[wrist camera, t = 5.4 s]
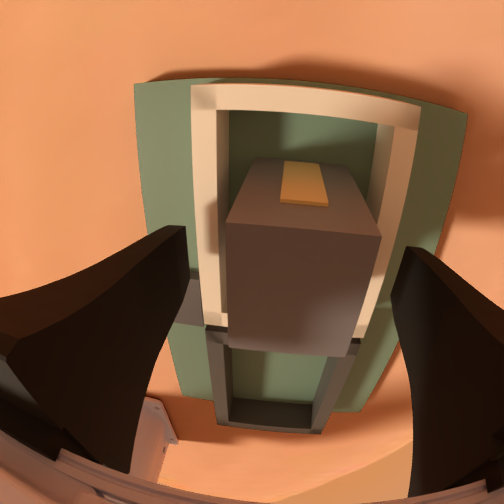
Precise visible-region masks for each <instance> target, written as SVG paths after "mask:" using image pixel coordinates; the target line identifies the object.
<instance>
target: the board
mask: <svg viewBox="0 0 504 504" xmlns="http://www.w3.org/2000/svg"><path fill="white" fill-rule="evenodd" d="M134 101H135V120H136V135H137V148H138V159H139V169H140V179H141V188H142V196H143V204H144V212H145V219H146V226H147V233H148V235H149V234H151V233H152V232H154V231H156V230H158V229H160V228H162V227H164V226H167V225H179V226H186V235H187V246H188V257H189V267H190V276H191V278H190V281H189V284H188V288H187V291H186V294H185V297H184V300H183V303H182V305H181V307H180V309H179V312H178V314H177V316H176V318H175V320H174V322H173V324H172V327H171V329H170V331H169V333H168V335H167V337H168V342H169V346H170V350H171V354H172V358H173V362H174V366H175V370H176V374H177V378H178V381H179V385H180V389H181V392H182V395H183V396H188V397H193V398H199V399H204V400H210V401H214V407H215V413H216V420H217V425H224V426H230V427H238V428H245V429H254V430H263V431H274V432H286V433H302V434H321V432H322V430H323V428H324V426H325V424H326V422H327V420H328V418H329V416H330V414H331V412H360V411H361V409H362V408H363V406H364V404H365V403H366V401H367V399H368V398H369V396H370V394H371V392H372V391H373V389H374V387H375V385H376V384H377V382H378V380H379V378H380V376H381V374H382V373H383V371H384V369H385V367H386V365H387V363H388V361H389V359H390V357H391V355H392V353H393V351H394V349H395V347H396V345H397V343H398V341H399V338H398V334H397V330H396V327H395V323H394V318H393V312H392V305H391V298H390V294H391V291H392V288H393V285H394V282H395V279H396V276H397V273H398V270H399V267H400V264H401V261H402V257H403V254H404V251H405V248H406V246H412V247H421V248H424V249H425V250H427V251H428V252H430V253H431V254H433V255H434V253H435V250H436V247H437V244H438V241H439V238H440V235H441V232H442V228H443V225H444V222H445V218H446V215H447V211H448V208H449V204H450V200H451V197H452V193H453V189H454V185H455V181H456V176H457V172H458V167H459V163H460V158H461V153H462V148H463V142H464V137H465V131H466V125H467V118H468V114H467V113H464V112H460V111H457V110H454V109H451V108H447V107H444V106H440V105H437V104H433V103H429V102H425V101H421V100H417V99H413V98H409V97H405V96H400V95H395V94H391V93H386V92H380V91H375V90H369V89H364V88H357V87H351V86H344V85H337V84H329V83H320V82H311V81H299V80H286V79H268V78H197V79H179V80H166V81H155V82H146V83H137V84H134ZM255 157H262V158H276V159H289V160H301V161H311V162H321V163H331V164H339V165H346V166H347V168H348V170H349V171H350V173H351V175H352V177H353V179H354V181H355V183H356V184H357V186H358V188H359V190H360V192H361V194H362V196H363V198H364V200H365V202H366V204H367V206H368V208H369V210H370V212H371V214H372V216H373V218H374V220H375V222H376V224H377V227H378V229H379V231H380V233H381V235H382V239H381V243H380V247H379V251H378V255H377V258H376V262H375V266H374V269H373V273H372V276H371V280H370V283H369V287H368V290H367V293H366V297H365V300H364V303H363V306H362V309H361V313H360V316H359V319H358V322H357V325H356V328H355V331H354V334H353V336H352V339H351V342H350V345H349V348H348V350H347V353H346V356H345V357H328V356H312V355H298V354H286V353H275V352H264V351H255V350H246V349H238V348H230V347H229V343H228V316H227V285H226V244H225V221H226V219H227V217H228V215H229V212H230V210H231V208H232V206H233V204H234V202H235V199H236V197H237V195H238V193H239V191H240V189H241V186H242V184H243V182H244V180H245V178H246V176H247V174H248V171H249V169H250V167H251V165H252V163H253V161H254V159H255Z"/></svg>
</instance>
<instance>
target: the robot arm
mask: <svg viewBox="0 0 504 504" xmlns="http://www.w3.org/2000/svg"><path fill="white" fill-rule="evenodd" d="M190 278H191V276H190V267H189V257H188V246H187V235H186V226H179V225H167V226H164V227H162V228H160V229H158V230H156V231H154V232H152V233H151V234H149V235H147V236H145V237H144V238H142V239H140V240H138V241H137V242H135V243H133V244H131V245H130V246H128V247H126V248H124V249H123V250H121V251H119V252H117V253H115V254H113V255H111V256H110V257H108V258H106V259H104V260H102V261H100V262H99V263H97V264H95V265H93V266H90V267H88V268H86V269H84V270H82V271H80V272H77V273H75V274H73V275H71V276H68V277H66V278H63V279H60V280H58V281H55V282H52V283H49V284H47V285H44V286H41V287H38V288H35V289H32V290H29V291H25V292H22V293H18V294H14V295H10V296H6V297H2V298H0V504H269V503H258V502H249V501H241V500H233V499H226V498H220V497H214V496H209V495H203V494H198V493H194V492H189V491H184V490H180V489H176V488H172V487H168V486H164V485H160V484H157V481H158V478H159V474H160V471H161V468H162V464H163V461H164V458H165V454H166V451H167V448H168V445H169V443H170V444H175V445H177V444H178V442H179V441H178V439H177V437H176V434H175V432H174V430H173V427H172V425H171V423H170V420H169V418H168V415H167V413H166V411H165V408H164V406H163V403H162V402H161V401H160V400H157V399H153V398H149V397H145V395H146V391H147V388H148V384H149V381H150V378H151V374H152V371H153V368H154V365H155V362H156V360H157V357H158V355H159V352H160V350H161V348H162V346H163V344H164V341H165V339H166V337H167V335H168V333H169V331H170V329H171V327H172V324H173V322H174V320H175V318H176V316H177V314H178V312H179V309H180V307H181V305H182V303H183V300H184V297H185V294H186V291H187V288H188V284H189V281H190ZM390 298H391V305H392V312H393V318H394V323H395V327H396V330H397V334H398V338H399V341H400V345H401V349H402V352H403V356H404V360H405V364H406V368H407V372H408V377H409V382H410V388H411V398H412V410H413V459H412V470H411V478H410V487H409V492H408V498H404V499H398V500H391V501H383V502H374V503H363V504H504V310H503V309H501V308H500V307H499V306H497V305H496V304H494V303H493V302H492V301H490V300H489V299H488V298H486V297H485V296H484V295H483V294H481V293H480V292H479V291H478V290H476V289H475V288H474V287H473V286H471V285H470V284H469V283H468V282H466V281H465V280H464V279H463V278H462V277H460V276H459V275H458V274H457V273H455V272H454V271H453V270H452V269H451V268H449V267H448V266H447V265H446V264H444V263H443V262H442V261H441V260H439V259H438V258H437V257H435V256H434V255H433V254H431V253H430V252H428V251H427V250H425V249H424V248H421V247H412V246H406V248H405V251H404V254H403V257H402V261H401V264H400V267H399V270H398V273H397V276H396V279H395V282H394V285H393V288H392V291H391V294H390Z"/></svg>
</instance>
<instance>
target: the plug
mask: <svg viewBox="0 0 504 504" xmlns="http://www.w3.org/2000/svg"><path fill="white" fill-rule="evenodd" d="M381 239H382V235H381V233H380V231H379V229H378V227H377V224H376V222H375V220H374V218H373V216H372V214H371V212H370V210H369V208H368V206H367V204H366V202H365V200H364V198H363V196H362V194H361V192H360V190H359V188H358V186H357V184H356V183H355V181H354V179H353V177H352V175H351V173H350V171H349V170H348V168H347V166H346V165H339V164H331V163H321V162H311V161H301V160H289V159H276V158H262V157H255V159H254V161H253V163H252V165H251V167H250V169H249V171H248V174H247V176H246V178H245V180H244V182H243V184H242V186H241V189H240V191H239V193H238V195H237V197H236V199H235V202H234V204H233V206H232V208H231V210H230V212H229V215H228V217H227V219H226V221H225V244H226V285H227V316H228V343H229V347H230V348H238V349H246V350H255V351H264V352H275V353H286V354H298V355H312V356H328V357H345V356H346V353H347V350H348V348H349V345H350V342H351V339H352V336H353V334H354V331H355V328H356V325H357V322H358V319H359V316H360V313H361V309H362V306H363V303H364V300H365V297H366V293H367V290H368V287H369V283H370V280H371V276H372V273H373V269H374V266H375V262H376V258H377V255H378V251H379V247H380V243H381Z"/></svg>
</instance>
